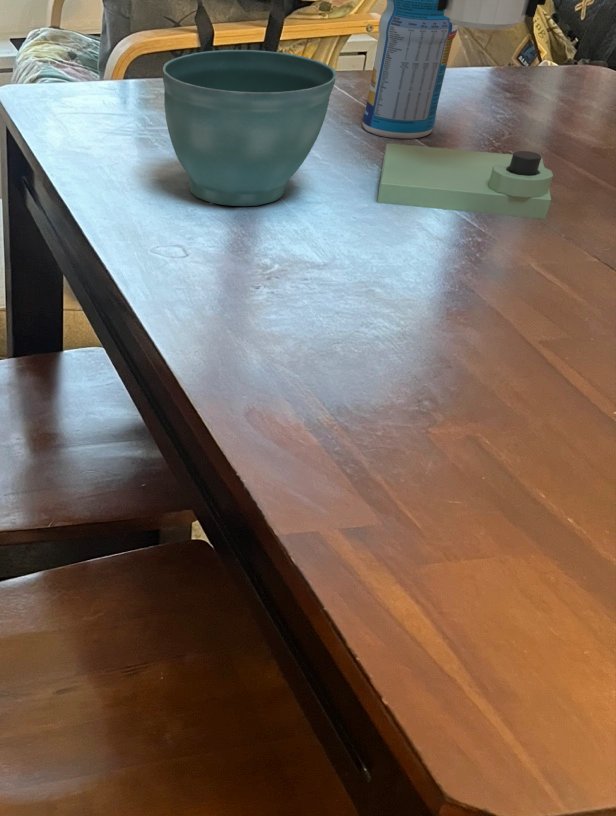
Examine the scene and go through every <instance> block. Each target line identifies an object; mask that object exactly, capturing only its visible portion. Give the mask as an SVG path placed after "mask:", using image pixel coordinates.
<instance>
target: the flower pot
mask: <svg viewBox="0 0 616 816" xmlns="http://www.w3.org/2000/svg"><path fill="white" fill-rule="evenodd" d="M337 75H338V74H337V71H336V69H335V68H333V67H332V66H330V65H328V64H327V63H325V62H322V61H320V60H317V59H314V58H309V57H306V56H303V55H297V54H293V53H288V52H287V53H286V52H278V51H270V50H269V51H268V50H255V49H221V50H220V49H219V50H208V51H207V50H206V51H199V52H193V53H190V54H185V55H182V56H178V57H175V58H172V59H171V60H168V61H167V62H165V64H164V65H162V82H163V86H164V90H163V91H164V97H163V98H164V102H163V105H164V114H165V121H166V127H167V132H168V135H169V138H170V142H171V145H172V148H173V150H174V153H175V155H176V158H177V160H178V161H179V162H178V163H179V164H180V166H181V167H182V169H183V170H184V172H185V174H186V175H187V178H188V187H189V191H190V193H191V194H192V195H193V196H195V197H196V198H198V199H200V200H202V201H205V202H209V203H213V204H216V205H223V206H231V207H250V206H251V207H252V206H254V207H258V206H260V205H266V204H269V203H273V202H275V201H278V200H279V199H281V198H282V197H283V195H284V194H285V191H286V187H287V184H288V182H289V181H290V179H291V178H292V177H293V176H294V175H295V174H296V172H297V171H298V170H299V169H300V167H301V166H302V165H303V163H304V162H305V160H306V159H307V157H308V156H309V155H310V152H311V151H312V149H313V147H314V145H315V143H316V141H317V139H318V137H319V135H320V132H321V130H322V127H323V125H324V122H325V118H326V115H327V111H328V107H329V103H330V98H331V94H332V91H333V89H334V88H335V87H334V86H335V83H336V78H337Z"/></svg>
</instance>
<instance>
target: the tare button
mask: <svg viewBox="0 0 616 816" xmlns="http://www.w3.org/2000/svg"><path fill="white" fill-rule="evenodd" d="M512 155H513V156H512V160H511V163H510V167H509V170H508V172H510V173H513V174H517V175H524V176H534V175H536V174H537V170H538V167H539V164H540V160H541V157H542V155H541V154H539V153H537V152H534V151H528V150H517V151H514V152H513V153H512Z"/></svg>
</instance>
